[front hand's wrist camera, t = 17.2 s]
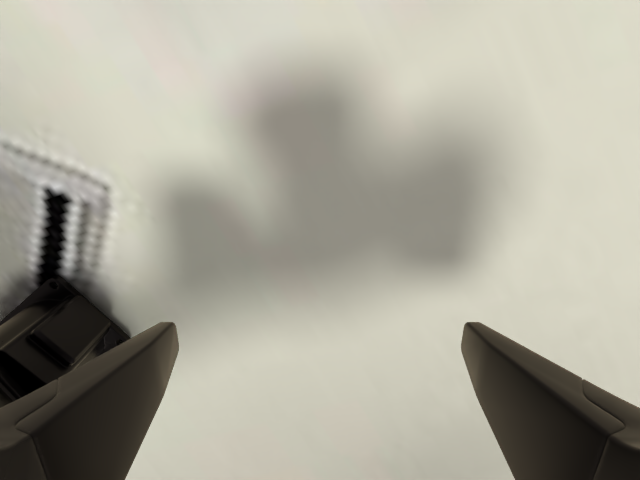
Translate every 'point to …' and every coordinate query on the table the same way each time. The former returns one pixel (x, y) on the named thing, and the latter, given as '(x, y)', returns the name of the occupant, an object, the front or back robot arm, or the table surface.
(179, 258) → the table surface
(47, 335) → the front robot arm
